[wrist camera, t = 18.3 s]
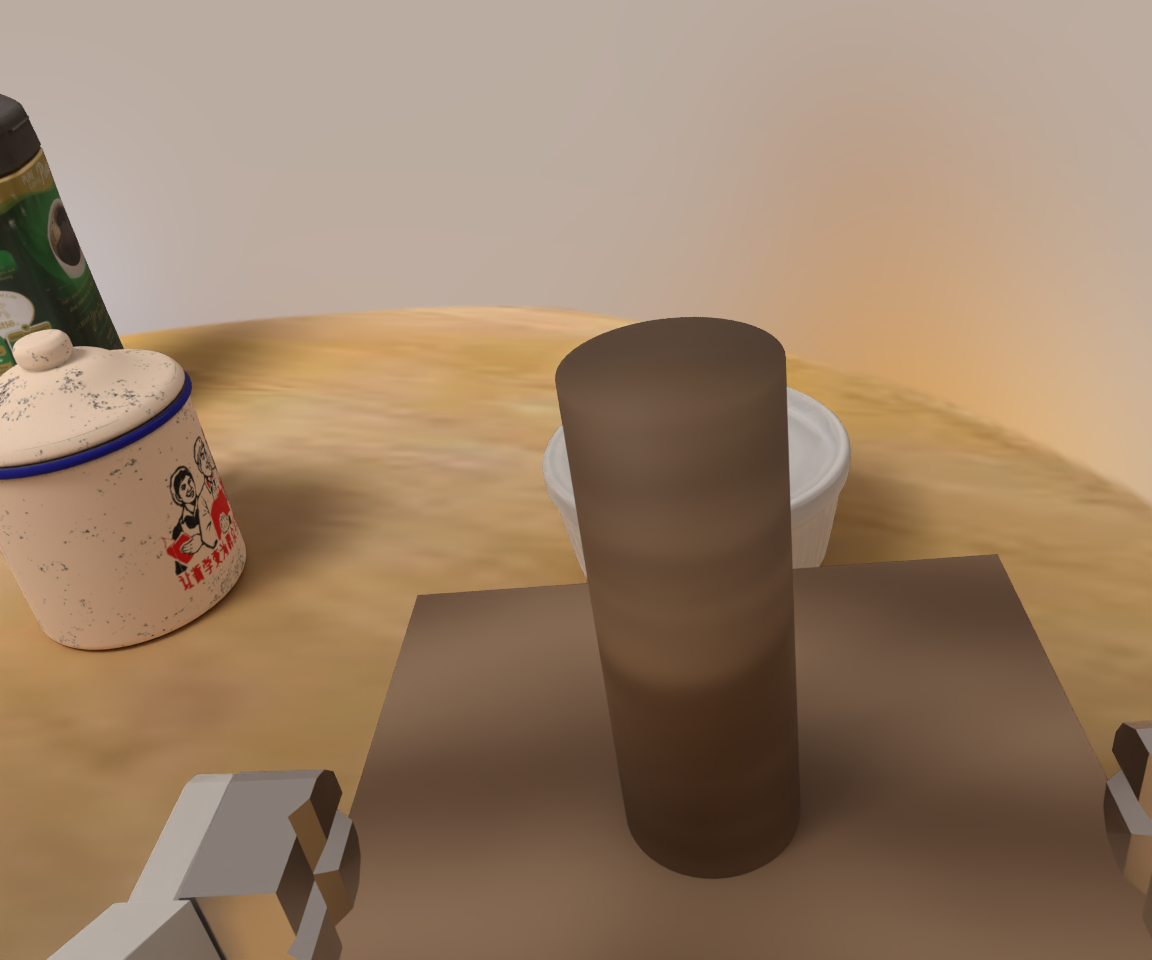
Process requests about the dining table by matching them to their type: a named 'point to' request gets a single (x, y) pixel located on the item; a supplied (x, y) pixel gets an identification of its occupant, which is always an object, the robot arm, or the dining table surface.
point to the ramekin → (812, 468)
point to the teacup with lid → (110, 494)
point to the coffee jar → (40, 250)
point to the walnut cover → (726, 723)
